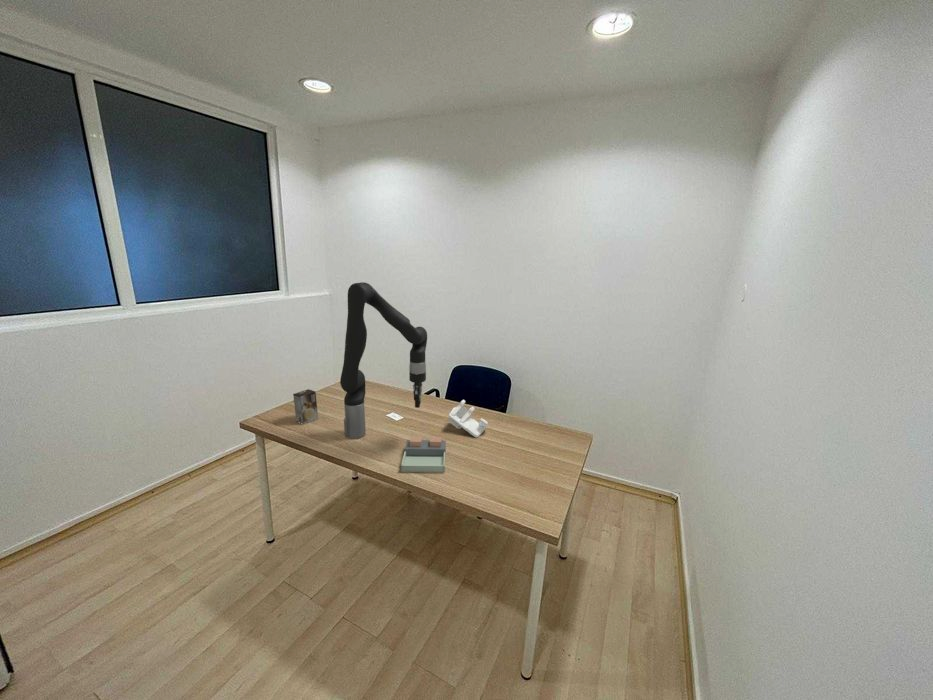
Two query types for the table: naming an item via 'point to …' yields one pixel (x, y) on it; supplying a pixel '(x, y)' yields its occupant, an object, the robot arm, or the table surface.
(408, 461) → the tray
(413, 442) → the tile left
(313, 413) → the coffee box
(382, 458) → the table surface
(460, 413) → the tape dispenser
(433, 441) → the tile right
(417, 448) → the grey flat block
